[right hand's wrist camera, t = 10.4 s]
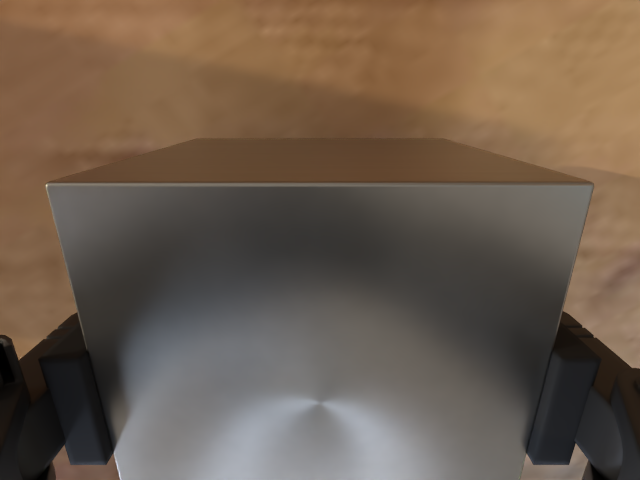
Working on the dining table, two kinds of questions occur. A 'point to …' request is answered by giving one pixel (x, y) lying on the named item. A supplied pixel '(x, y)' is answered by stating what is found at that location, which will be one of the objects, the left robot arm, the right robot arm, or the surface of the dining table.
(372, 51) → the dining table surface
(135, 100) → the dining table surface
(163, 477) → the block
